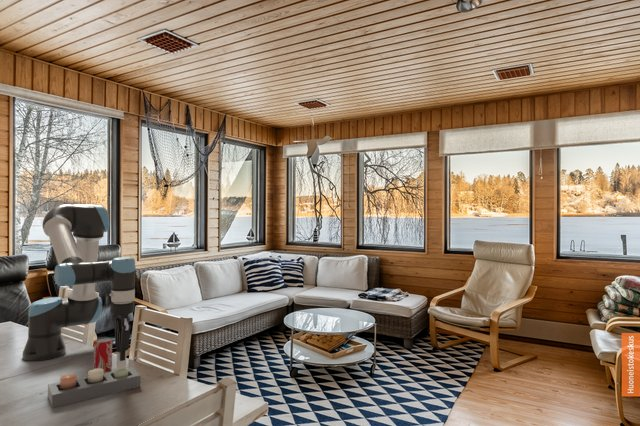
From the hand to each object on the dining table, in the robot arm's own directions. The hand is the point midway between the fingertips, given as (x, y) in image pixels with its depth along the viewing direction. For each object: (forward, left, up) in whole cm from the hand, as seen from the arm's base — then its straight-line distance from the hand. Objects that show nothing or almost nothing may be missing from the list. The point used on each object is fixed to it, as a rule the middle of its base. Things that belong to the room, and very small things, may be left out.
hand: (121, 368), depth 144 cm
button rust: (0, -16, -2) cm, 16 cm away
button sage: (0, 0, -3) cm, 3 cm away
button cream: (0, -8, -2) cm, 8 cm away
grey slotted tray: (0, -8, -6) cm, 10 cm away
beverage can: (-18, -2, -6) cm, 19 cm away
